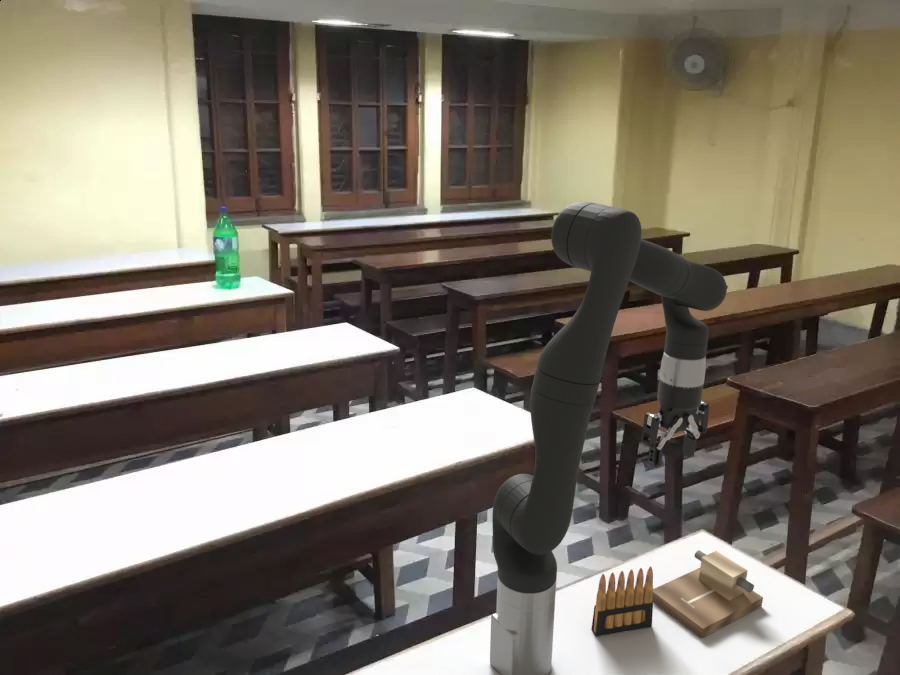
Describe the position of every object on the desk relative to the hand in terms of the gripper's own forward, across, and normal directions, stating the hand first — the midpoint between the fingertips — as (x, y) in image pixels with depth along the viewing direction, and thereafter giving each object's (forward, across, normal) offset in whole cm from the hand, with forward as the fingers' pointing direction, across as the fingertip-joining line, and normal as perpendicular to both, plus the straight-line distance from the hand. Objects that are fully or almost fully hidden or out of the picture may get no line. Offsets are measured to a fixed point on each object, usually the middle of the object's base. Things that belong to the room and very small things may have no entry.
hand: (671, 460), depth 134 cm
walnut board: (+25, +2, -10) cm, 27 cm away
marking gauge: (+23, +6, -10) cm, 26 cm away
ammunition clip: (+26, -16, -7) cm, 31 cm away
